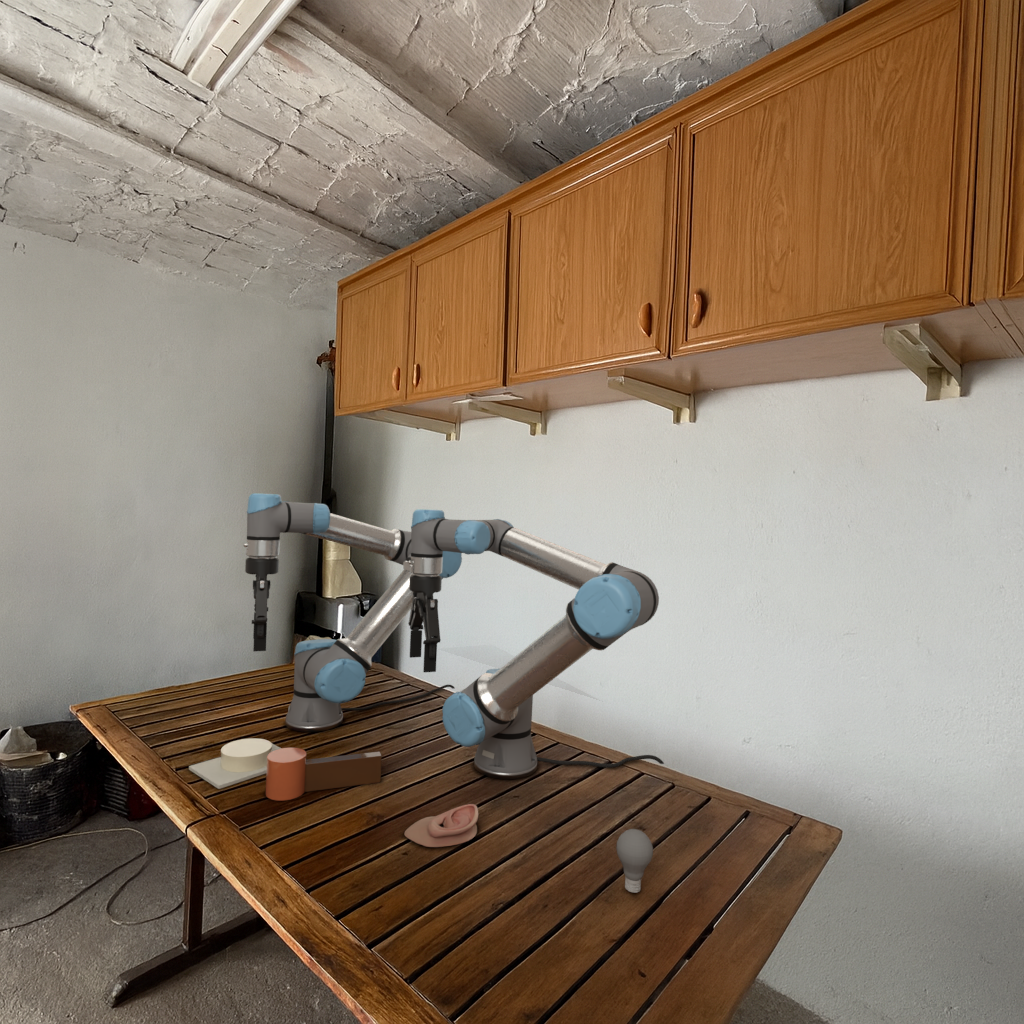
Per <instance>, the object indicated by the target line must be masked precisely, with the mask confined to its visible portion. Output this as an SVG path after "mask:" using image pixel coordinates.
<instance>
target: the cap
mask: <svg viewBox="0 0 1024 1024" xmlns="http://www.w3.org/2000/svg"><path fill="white" fill-rule="evenodd" d="M272 744H273V743H272V742H271V741H269V740H267V739H264V738H241V739H237V740H233V741H230V742H227V743H226V744H224V745H223V746H222V747H221V749H220V757H221V761H220V766H221V768H222V769H224V770H226V771H230V772H248V771H254V770H258V769H261V768H263V767H265V766H267V755H268V754H269V753H270V752H272Z"/></svg>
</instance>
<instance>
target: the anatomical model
mask: <svg viewBox="0 0 1024 1024" xmlns="http://www.w3.org/2000/svg"><path fill="white" fill-rule="evenodd" d="M478 820H479V809H478V806H477V805H476V804H475V803H468V804H463V805H460V806H456V807H454V808H451V809H449V810H447V811H444V812H442V813H440V814H438V815H435V816H432V815H431V816H426V817H423V818H421V819H419V820H417V821H416V822H414V823H413V824H411V825H410V826H408V828H407V829H406V830H405V831H404V836H405V837H406V838H407V839H408V840H410V841H412V842H414V843H415V844H418V845H421V846H423V847H427V848H442V847H451V846H456V845H461V844H464V843H466V842H469V841H471V840H472V839H473V838H474V837H476V835H477V833H478V825H477V822H478Z"/></svg>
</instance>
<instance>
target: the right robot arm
mask: <svg viewBox="0 0 1024 1024" xmlns="http://www.w3.org/2000/svg"><path fill="white" fill-rule="evenodd" d="M412 512H413V513H412V518H411V519H412V520H411V526H410V528H411V531H410V532H411V560H410V561H408V564H411V565H410V572H411V573H413V575H411V576H410V582H409V589H410V591H412V592H413V600H412V606H411V610H410V611H409V612H410V613H409V618H408V619H409V620H408V623H407V624H408V626H409V629H410V636H409V637H410V639H409V642H410V643H409V658H411V659H412V658H422V648H423V647H422V645H423V646H424V648H423V650H424V651H423V670H422V672H423V673H436V672H437V656H438V654H437V653H438V643H441V641H442V640H441V631H440V621H439V620H440V619H439V610H438V609H439V601H438V599H437V598H434V593H439V592H441V591H442V582H443V581H442V580H443V579H442V577H441V576H440V574H441V573H442V565H443V551H449V552H458V553H462V554H465V555H481V554H484V552H492V553H494V554H496V555H498V556H501V557H503V558H505V559H508V560H509V561H513V562H515V563H517V564H520V565H522V566H524V567H526V568H528V569H531V570H533V571H535V572H537V573H540V574H542V575H545V576H547V577H549V578H551V579H553V580H555V581H557V582H560V583H562V584H565V585H566V586H569V587H571V588H574V589H576V590H578V591H577V592H576V594H575V596H574V597H573V598H572V599H571V600H570V601H568V603H567V604H566V606H565V615H564V616H563V617H561V618H560V619H559V620H558V621H556V622H555V623H554V624H553V625H552V626H550V627H549V628H548V629H547V630H546V631H544V632H543V633H542V634H541V635H539V636H538V637H537V638H535V640H534V641H532V642H531V643H530V644H528V645H527V646H526V647H524V648H523V650H521V651H520V652H519V653H518V654H516V655H515V656H514V657H513V658H512V659H510V660H509V661H508V662H507V663H505V664H504V665H503V666H501V668H490V669H487V670H486V672H485V673H482V674H481V675H480V676H479V677H477V678H476V679H475V680H474V681H473V682H471V683H470V684H469V685H467V686H466V687H465V688H464V689H462V690H460V691H456V692H453V693H452V694H451V695H449V696H448V697H447V698H446V699H445V701H444V703H443V706H442V710H441V711H442V712H441V713H442V717H441V718H442V723H443V727H444V729H445V731H446V733H447V734H448V736H449V738H450V739H451V740H452V741H453V742H455V743H456V744H457V745H460V746H462V747H463V748H464V747H465V748H471V747H475V746H477V749H476V751H475V753H474V759H473V762H474V763H473V766H474V767H473V768H475V770H476V771H477V772H479V773H480V774H481V775H484V776H486V777H490V778H493V779H498V780H499V779H500V780H515V779H516V780H518V779H523V778H526V777H529V776H531V775H533V774H535V773H536V771H537V769H538V762H540V763H547V764H553V765H560V766H574V765H575V766H590V767H597V768H604V769H611V768H612V769H613V768H618V767H621V766H623V765H624V764H626V763H628V762H634V761H640V760H654V761H656V762H657V763H659V764H660V765H664V764H665V763H664V760H662V759H661V758H660V757H658V756H656V755H653V754H642V755H636V756H629V757H626V758H623V759H620V761H618V762H614V763H604V762H603V763H602V762H596V761H588V760H559V759H558V760H557V759H552V758H546V757H539V756H537V753H536V749H535V745H534V741H533V737H532V723H533V722H532V721H533V701H534V695H535V694H536V693H538V692H539V691H540V690H541V689H543V687H546V686H547V685H548V684H549V683H550V682H552V681H553V680H555V678H557V677H558V676H560V675H561V674H562V673H563V672H565V671H566V670H567V669H568V668H570V667H571V666H573V664H575V663H576V662H578V661H579V660H580V659H581V658H583V657H584V656H585V655H586V654H588V653H589V652H591V651H592V650H596V651H604V650H606V649H607V648H608V647H610V646H611V645H612V644H614V643H615V642H616V641H618V640H619V639H620V638H622V637H623V636H624V635H625V634H627V633H628V632H630V631H631V630H634V629H636V628H638V627H641V626H643V625H645V624H647V623H648V622H649V621H651V620H652V618H653V617H654V616H655V615H656V613H657V611H658V608H659V603H660V597H659V592H658V588H657V586H656V584H655V583H654V582H653V580H652V579H651V577H649V576H648V575H646V574H644V573H642V572H641V571H639V570H635V569H632V568H630V567H627V566H623V565H620V564H618V563H615V562H612V561H611V562H609V563H604V562H601V561H598V560H596V559H593V558H591V557H588V556H586V555H583V554H581V553H579V552H576V551H573V550H571V549H568V548H566V547H564V546H562V545H559V544H556V543H553V542H551V541H548V540H546V539H544V538H541V537H538V536H536V535H534V534H532V533H529V532H526V531H524V530H521V529H519V528H516V527H514V526H513V524H512V523H511V522H509V521H507V520H504V519H500V518H495V519H450V518H445V517H446V516H445V512H444V511H443V510H441V509H429V508H428V509H427V508H418V509H415V510H414V511H412ZM423 630H424V636H425V639H424V640H423Z"/></svg>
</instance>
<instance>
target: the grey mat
mask: <svg viewBox="0 0 1024 1024" xmlns="http://www.w3.org/2000/svg"><path fill="white" fill-rule="evenodd" d="M282 748H283V747H282ZM282 748H281V747H280V746H278V745H276V744H274V743H272V751H274V750H278V749H282ZM220 761H221V756H219V757H216V758H212V759H209V760H204V761H202V762H198V763H196V764H191V765H189V766H188V770H189V771H190V772H191V773H193V774H194V775H197V776H198V777H199V778H201V779H202V780H204V781H205V782H208V783H209V784H210V785H212V786H213V787H214V788H216V789H218V790H221V789H224V788H226V787H230V786H232V785H236V784H238V783H239V784H240V783H242V782H245V781H248V780H251V779H254V778H257V777H259V776H264V775H266V768H267V766H265V767H263V768H261V769H258V770H254V771H248V772H230V771H226V770H224V769H222V768H221V766H220Z"/></svg>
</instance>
